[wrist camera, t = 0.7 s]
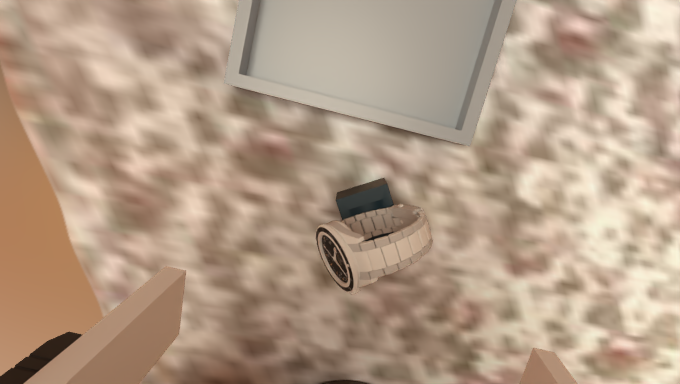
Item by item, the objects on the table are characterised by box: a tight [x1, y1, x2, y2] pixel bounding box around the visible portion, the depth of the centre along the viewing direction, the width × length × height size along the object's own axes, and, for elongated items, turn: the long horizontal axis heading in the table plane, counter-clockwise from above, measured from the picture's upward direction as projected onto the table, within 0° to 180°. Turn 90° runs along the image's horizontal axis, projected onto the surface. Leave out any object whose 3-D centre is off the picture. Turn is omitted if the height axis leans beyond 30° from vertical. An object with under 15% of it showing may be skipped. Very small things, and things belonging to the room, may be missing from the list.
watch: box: [316, 178, 433, 294], centre depth 28 cm, size 6×8×11 cm
